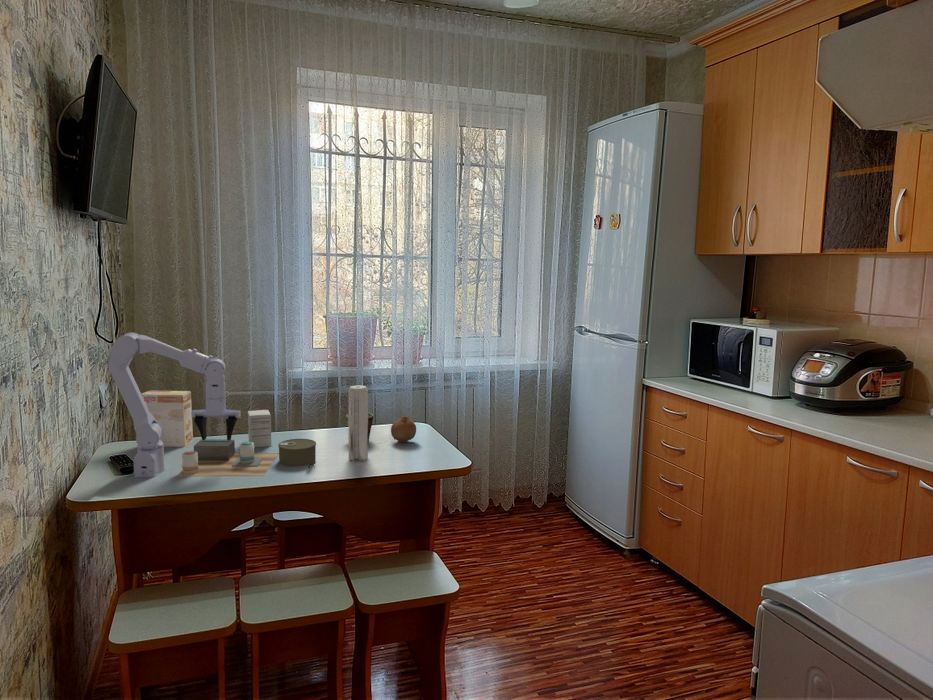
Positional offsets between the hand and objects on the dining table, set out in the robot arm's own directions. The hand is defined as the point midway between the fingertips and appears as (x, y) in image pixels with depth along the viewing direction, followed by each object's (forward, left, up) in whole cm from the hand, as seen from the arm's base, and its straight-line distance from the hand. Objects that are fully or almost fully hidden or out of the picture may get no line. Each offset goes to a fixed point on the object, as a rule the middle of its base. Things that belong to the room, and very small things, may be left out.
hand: (216, 439), depth 203 cm
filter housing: (+9, +4, -9) cm, 13 cm away
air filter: (+11, -43, -10) cm, 46 cm away
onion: (+30, -58, -10) cm, 66 cm away
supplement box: (+25, -7, -10) cm, 28 cm away
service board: (+2, -3, -10) cm, 11 cm away
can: (+6, -24, -10) cm, 27 cm away
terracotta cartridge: (-5, +7, -9) cm, 12 cm away
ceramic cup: (+30, -42, -10) cm, 53 cm away
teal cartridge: (+4, -8, -9) cm, 12 cm away
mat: (+4, -8, -9) cm, 13 cm away
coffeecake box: (+26, +25, -10) cm, 37 cm away
